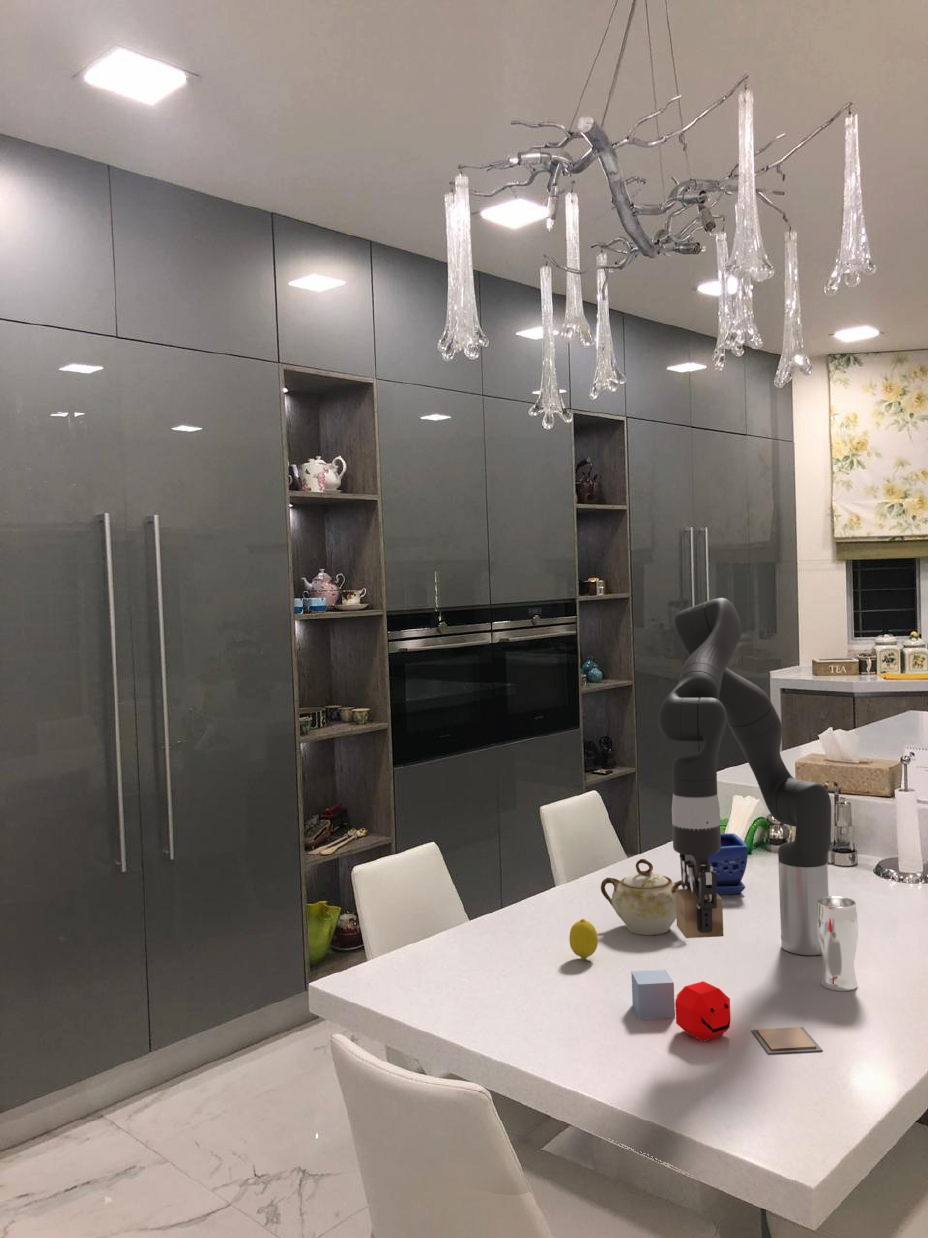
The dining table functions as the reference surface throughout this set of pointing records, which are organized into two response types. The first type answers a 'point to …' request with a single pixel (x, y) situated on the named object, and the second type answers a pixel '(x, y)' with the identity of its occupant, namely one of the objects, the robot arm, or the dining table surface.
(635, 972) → the slate cube
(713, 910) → the walnut cube
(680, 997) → the ball
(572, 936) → the lemon
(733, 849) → the flower pot
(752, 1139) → the dining table surface
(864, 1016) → the dining table surface
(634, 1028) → the dining table surface
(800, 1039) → the walnut swatch
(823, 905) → the beer glass
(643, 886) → the sugar bowl
